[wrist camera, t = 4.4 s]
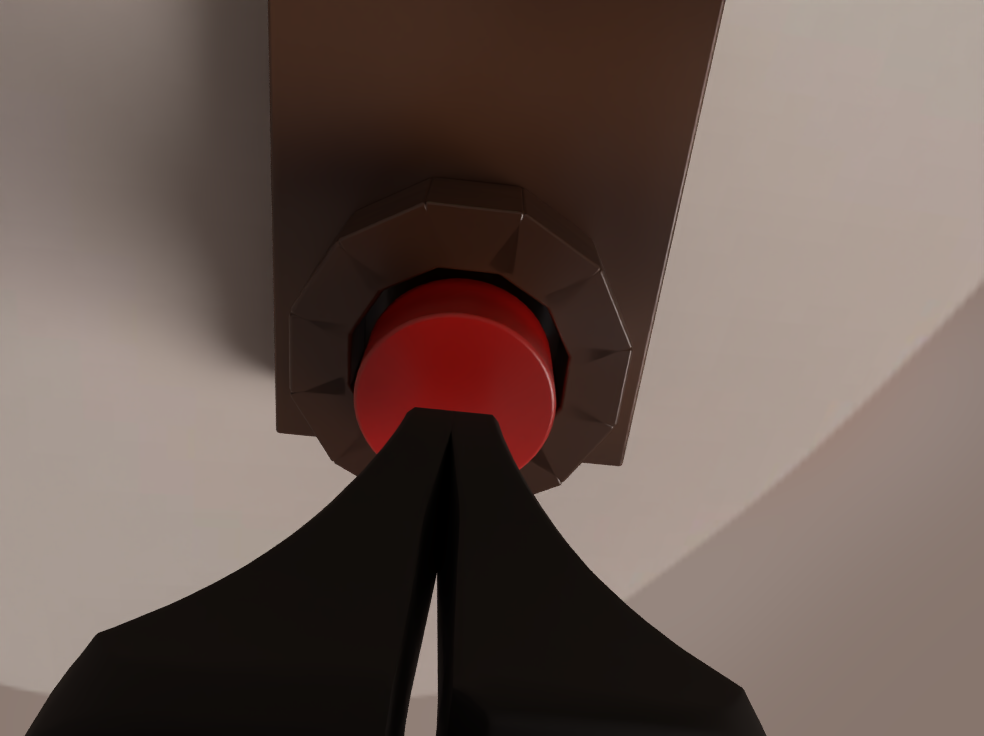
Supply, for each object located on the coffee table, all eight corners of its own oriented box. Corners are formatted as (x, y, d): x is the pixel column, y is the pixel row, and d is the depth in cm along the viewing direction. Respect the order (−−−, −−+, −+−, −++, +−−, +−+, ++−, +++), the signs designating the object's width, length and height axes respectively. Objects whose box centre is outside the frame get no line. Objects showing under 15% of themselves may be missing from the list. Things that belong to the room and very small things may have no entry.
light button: (537, 448, 16) (542, 499, 15) (364, 431, 16) (349, 480, 15) (564, 287, 15) (571, 325, 13) (370, 266, 15) (355, 302, 13)
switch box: (609, 427, 20) (632, 526, 17) (297, 396, 20) (253, 490, 16) (700, -12, 16) (758, -5, 12) (295, -61, 15) (233, -69, 12)
